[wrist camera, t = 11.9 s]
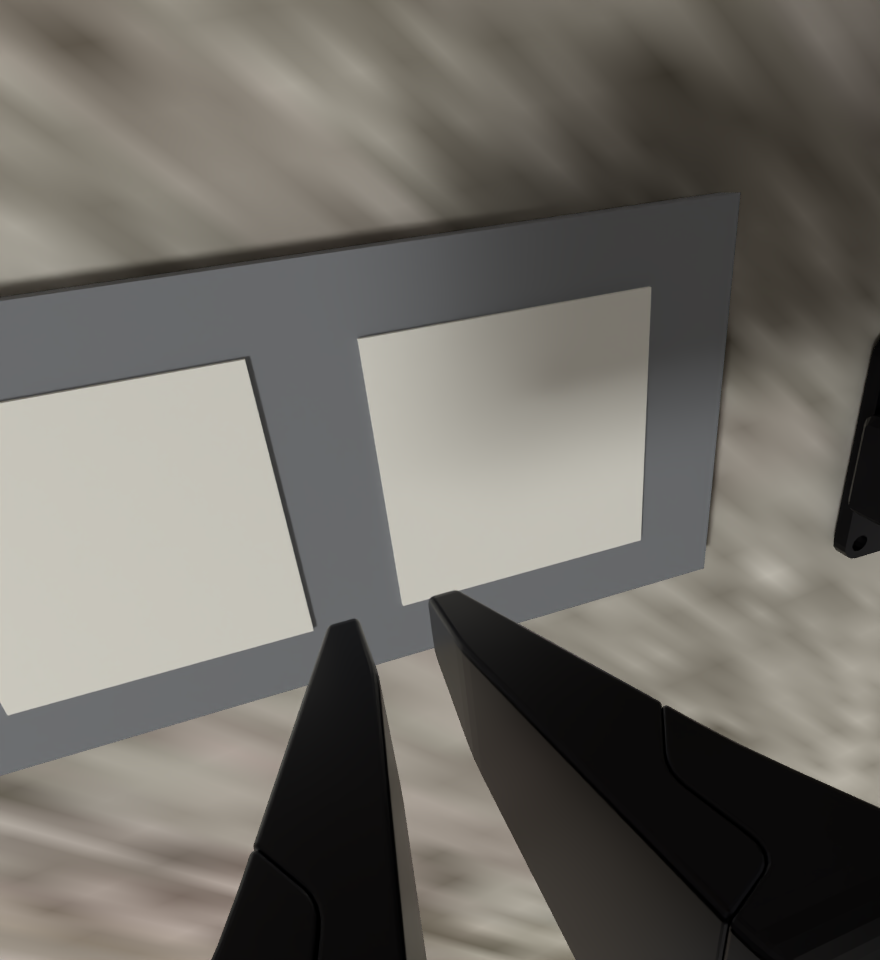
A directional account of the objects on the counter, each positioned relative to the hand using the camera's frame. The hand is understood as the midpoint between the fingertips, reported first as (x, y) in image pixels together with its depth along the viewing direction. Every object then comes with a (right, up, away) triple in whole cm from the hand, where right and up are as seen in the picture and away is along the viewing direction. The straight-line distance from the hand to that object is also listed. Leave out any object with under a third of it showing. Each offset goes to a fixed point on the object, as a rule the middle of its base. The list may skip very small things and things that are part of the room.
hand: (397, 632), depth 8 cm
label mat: (-2, +2, +4) cm, 5 cm away
